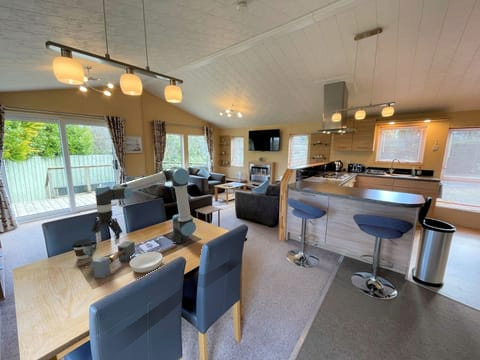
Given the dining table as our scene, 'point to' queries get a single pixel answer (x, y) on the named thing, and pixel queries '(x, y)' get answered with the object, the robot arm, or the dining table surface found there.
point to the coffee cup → (80, 248)
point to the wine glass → (90, 250)
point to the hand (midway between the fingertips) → (108, 242)
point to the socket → (101, 267)
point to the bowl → (146, 262)
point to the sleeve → (127, 250)
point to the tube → (116, 255)
